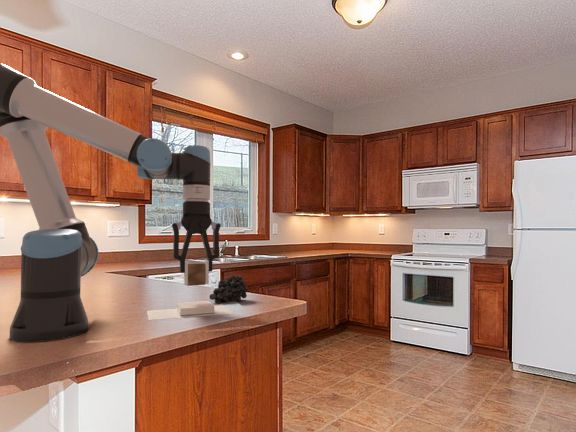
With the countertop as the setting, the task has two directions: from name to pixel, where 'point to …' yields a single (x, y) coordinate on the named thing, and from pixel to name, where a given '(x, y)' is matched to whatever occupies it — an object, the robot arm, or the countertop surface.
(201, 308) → the tile
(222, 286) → the fruit
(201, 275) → the walnut block
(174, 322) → the countertop surface
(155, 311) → the mat
